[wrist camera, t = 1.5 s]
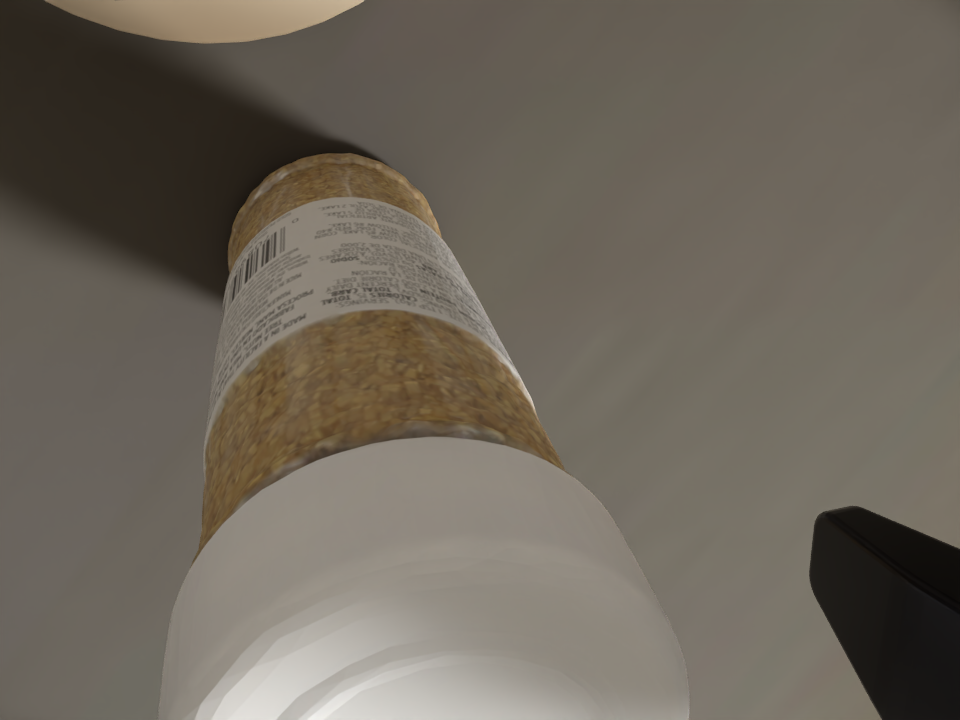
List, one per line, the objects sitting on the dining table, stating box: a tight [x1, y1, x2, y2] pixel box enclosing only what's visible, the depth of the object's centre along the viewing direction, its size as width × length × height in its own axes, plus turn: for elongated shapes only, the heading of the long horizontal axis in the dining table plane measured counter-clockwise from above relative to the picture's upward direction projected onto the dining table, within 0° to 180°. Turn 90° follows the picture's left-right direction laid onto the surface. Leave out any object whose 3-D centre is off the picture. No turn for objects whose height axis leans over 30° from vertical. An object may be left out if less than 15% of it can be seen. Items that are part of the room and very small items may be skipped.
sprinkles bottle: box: [158, 153, 690, 720], centre depth 13 cm, size 5×5×13 cm
